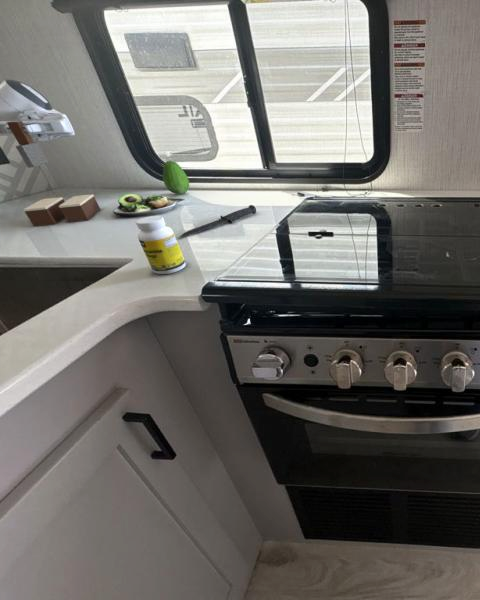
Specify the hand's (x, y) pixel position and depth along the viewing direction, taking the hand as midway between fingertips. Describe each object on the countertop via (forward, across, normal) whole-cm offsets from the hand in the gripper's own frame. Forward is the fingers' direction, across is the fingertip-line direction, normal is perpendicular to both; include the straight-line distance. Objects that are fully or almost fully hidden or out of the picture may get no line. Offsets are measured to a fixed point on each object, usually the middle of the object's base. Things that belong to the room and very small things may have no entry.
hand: (17, 129), depth 98 cm
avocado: (-5, +35, +24) cm, 43 cm away
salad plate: (+13, +27, +24) cm, 38 cm away
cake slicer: (-1, 0, +10) cm, 10 cm away
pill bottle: (+67, +41, +24) cm, 82 cm away
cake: (+12, +6, +24) cm, 28 cm away
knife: (+40, +50, +24) cm, 68 cm away
